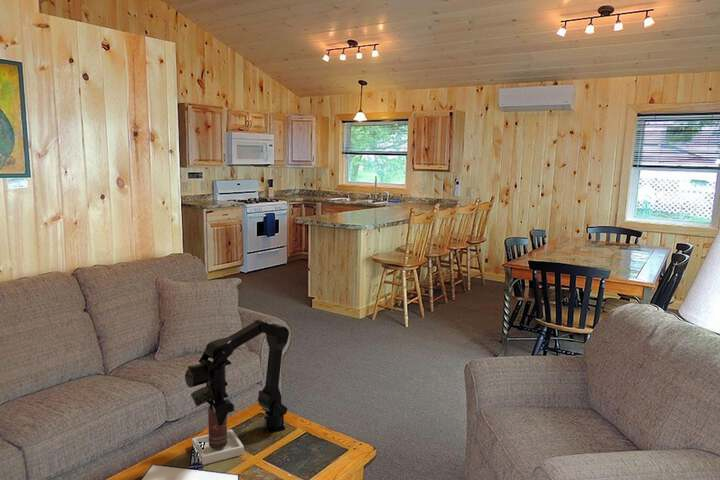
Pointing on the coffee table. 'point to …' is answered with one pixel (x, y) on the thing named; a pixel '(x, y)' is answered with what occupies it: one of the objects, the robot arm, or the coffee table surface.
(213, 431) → the can
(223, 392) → the robot arm
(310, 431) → the coffee table surface
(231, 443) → the tray
